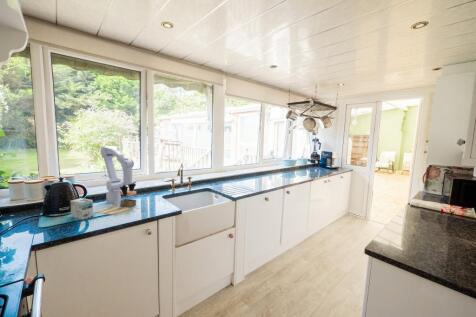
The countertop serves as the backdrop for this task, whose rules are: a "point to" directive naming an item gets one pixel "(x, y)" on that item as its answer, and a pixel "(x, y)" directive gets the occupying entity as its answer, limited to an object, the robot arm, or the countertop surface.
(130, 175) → the robot arm
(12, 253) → the countertop surface
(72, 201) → the light bulb box
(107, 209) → the board
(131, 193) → the salmon pink block
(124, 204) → the box
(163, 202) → the countertop surface
